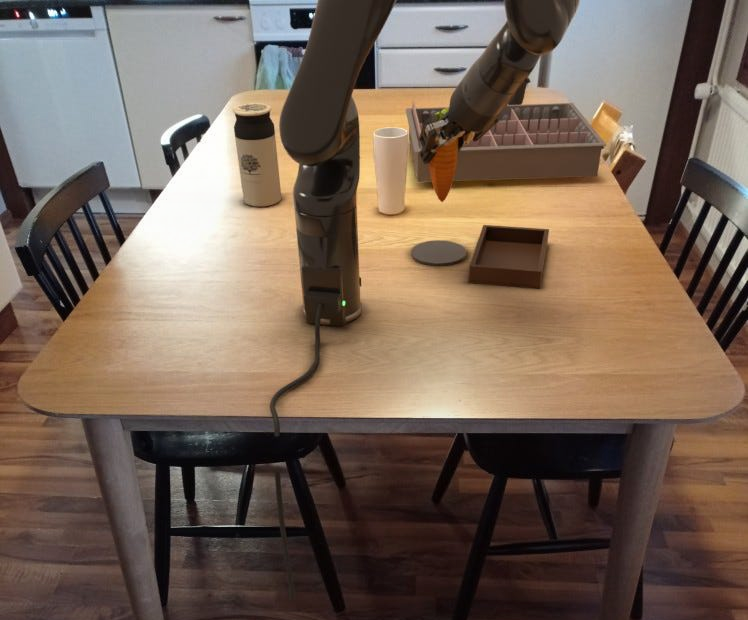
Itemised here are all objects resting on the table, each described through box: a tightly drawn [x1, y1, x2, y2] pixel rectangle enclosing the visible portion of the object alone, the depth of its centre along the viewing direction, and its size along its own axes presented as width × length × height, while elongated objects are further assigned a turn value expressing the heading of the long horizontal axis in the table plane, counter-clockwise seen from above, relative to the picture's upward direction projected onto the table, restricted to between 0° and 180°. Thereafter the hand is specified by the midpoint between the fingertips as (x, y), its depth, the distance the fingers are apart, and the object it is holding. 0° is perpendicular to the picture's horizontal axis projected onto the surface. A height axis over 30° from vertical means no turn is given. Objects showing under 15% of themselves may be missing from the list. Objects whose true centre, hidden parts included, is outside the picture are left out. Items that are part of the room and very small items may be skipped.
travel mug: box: [232, 102, 282, 208], centre depth 158 cm, size 8×8×18 cm
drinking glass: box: [372, 126, 409, 216], centre depth 153 cm, size 7×7×15 cm
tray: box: [468, 224, 550, 289], centre depth 137 cm, size 18×12×3 cm, turn 167°
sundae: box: [508, 77, 531, 105], centre depth 196 cm, size 7×7×15 cm
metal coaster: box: [410, 240, 467, 267], centre depth 141 cm, size 10×10×1 cm
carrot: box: [429, 108, 458, 203], centre depth 130 cm, size 5×5×15 cm
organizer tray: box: [405, 100, 607, 183], centre depth 175 cm, size 32×40×10 cm
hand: (436, 155), depth 131 cm, fingers closed on carrot, 4 cm apart
